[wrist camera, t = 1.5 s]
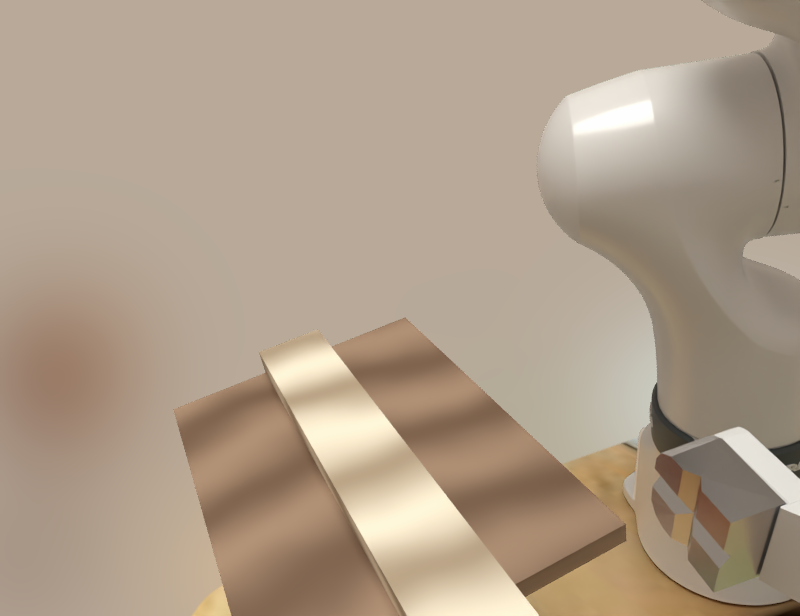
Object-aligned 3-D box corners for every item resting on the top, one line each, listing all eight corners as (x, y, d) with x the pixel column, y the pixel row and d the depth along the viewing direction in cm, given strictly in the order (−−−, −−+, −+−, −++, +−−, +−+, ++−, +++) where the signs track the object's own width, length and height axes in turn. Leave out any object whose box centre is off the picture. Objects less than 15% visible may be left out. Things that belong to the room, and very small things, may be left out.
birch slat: (647, 784, 21) (647, 754, 20) (534, 861, 19) (529, 833, 19) (323, 349, 45) (317, 329, 45) (265, 372, 44) (259, 352, 44)
